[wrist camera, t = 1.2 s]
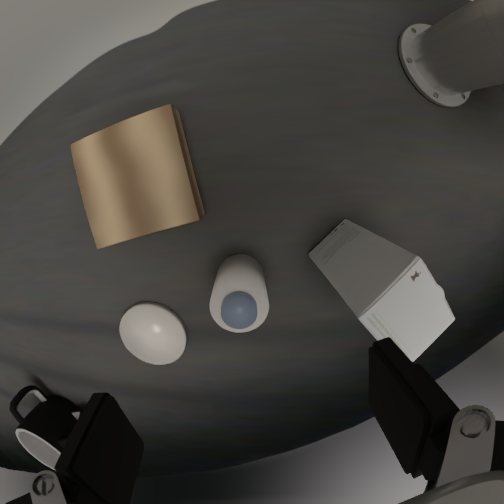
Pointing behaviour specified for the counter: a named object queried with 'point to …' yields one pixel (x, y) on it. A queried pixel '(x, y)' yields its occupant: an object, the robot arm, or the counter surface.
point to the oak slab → (137, 177)
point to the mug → (45, 425)
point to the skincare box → (384, 287)
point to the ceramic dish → (153, 333)
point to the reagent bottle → (239, 294)
